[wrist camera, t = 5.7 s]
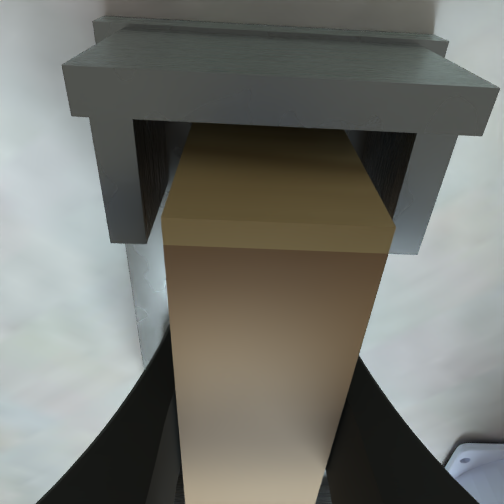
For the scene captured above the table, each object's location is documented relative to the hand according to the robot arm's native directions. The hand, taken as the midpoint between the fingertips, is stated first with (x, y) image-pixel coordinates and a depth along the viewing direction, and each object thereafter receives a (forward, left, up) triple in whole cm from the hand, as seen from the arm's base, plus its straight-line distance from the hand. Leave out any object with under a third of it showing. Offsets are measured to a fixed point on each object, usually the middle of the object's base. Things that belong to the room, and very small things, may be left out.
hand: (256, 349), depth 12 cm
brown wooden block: (0, 0, -2) cm, 2 cm away
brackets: (0, 0, -4) cm, 4 cm away
